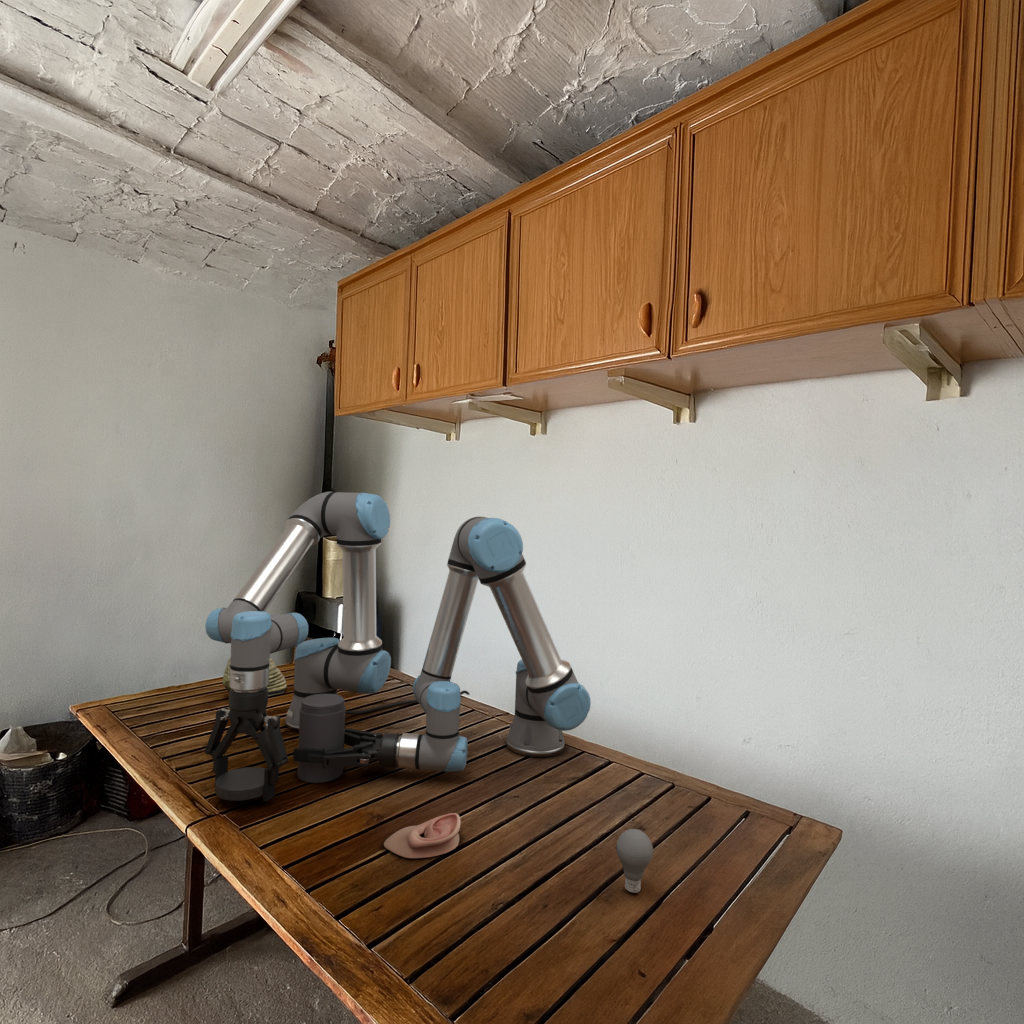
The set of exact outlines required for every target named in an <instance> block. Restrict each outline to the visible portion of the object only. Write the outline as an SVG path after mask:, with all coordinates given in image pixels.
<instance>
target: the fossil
mask: <svg viewBox="0 0 1024 1024" xmlns="http://www.w3.org/2000/svg"><path fill="white" fill-rule="evenodd" d="M230 664H231V656H230V657H229V659H228V660H227V663H226V666H225V668H224V671H223V675H222V676H223V677H222V685H223V687H224V688H225V690H226V691H228V692H229V691H230V690H231V688H230V686H229V684H230ZM287 687H288V686H287V680H286V678H285V676H284V674H283V673H282V672H281V669H279V668H278V667H277V665H276V663H275V662H274V660H273V659H272V658H271V657H270V659H269V685H268V686H267V688H268V697H271V696H275V695H281V694H284V693H285V691H286V689H287Z"/></svg>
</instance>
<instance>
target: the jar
mask: <svg viewBox="0 0 1024 1024" xmlns="http://www.w3.org/2000/svg"><path fill="white" fill-rule="evenodd" d="M345 699H346V698H345V697H344V696H342V695H340V694H337V695H336V694H316V695H311V696H308V697H305V698H304V699H303V700H302V702H301V705H302V707H301V708H300V717H299V731H298V747H297V748H304V749H324V748H325V750H326V752H327V751H333V750H340V749H345V744H344V732H345V729H346V714H345V711H346V705H345V702H346V700H345ZM296 772H297V773H296V775H297V778H298V779H299V780H300V781H302V782H305V783H311V784H318V783H319V784H321V783H327V782H332V781H334V780H337V779H338V778H340V777H341V776H342V775H343V773H344V767H342V768H326V769H323V768H322V763H311V762H297V771H296Z"/></svg>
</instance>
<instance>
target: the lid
mask: <svg viewBox="0 0 1024 1024" xmlns="http://www.w3.org/2000/svg"><path fill="white" fill-rule="evenodd" d="M264 770H265V767H259V766H258V767H257V766H248V767H240V768H235V769H232V770H228V771H227V772H226V773H224V774H222V775H221V776H219V777H218V778H217V779H216V784H215V783H214V793H215V795H216V797H218V798H219V799H221V800H224V801H230V802H231V801H232V802H233V801H234V802H237V801H239V802H241V801H248V800H252V799H257V798H259V797H262V796H263V795H264Z"/></svg>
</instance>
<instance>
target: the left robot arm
mask: <svg viewBox="0 0 1024 1024" xmlns="http://www.w3.org/2000/svg"><path fill="white" fill-rule="evenodd" d="M390 527H391V515H390V510H389V506H388V504H387V503H386V502H385V500H384V498H383V497H382V496H380V495H378V494H375V493H367V492H346V491H345V492H343V491H342V492H341V491H325V492H322V493H318V494H316V495H314V496H313V497H311V498H309V499H307V500H306V501H305V502H303V503H302V504H301V505H300V506H298V507H297V508H296V509H295V510H294V512H293V513H292V514H290V516H289V517H288V519H287V520H286V521H285V523H284V531H283V532H282V533H281V535H280V536H279V538H278V539H277V540H276V541H275V543H274V544H273V546H272V547H271V548H270V549H269V551H268V552H267V554H266V555H265V557H264V558H263V560H262V561H260V562H259V564H258V566H257V567H256V568H255V570H254V571H253V573H252V574H251V575H250V577H249V578H248V579H247V581H246V582H245V583H244V585H243V586H242V588H241V589H240V590H239V592H237V594H236V596H235V597H234V598H233V600H232V601H230V603H229V605H228V606H227V607H218V608H215V609H214V610H212V611H211V612H209V614H208V616H207V617H206V620H205V625H204V626H205V627H204V628H205V633H206V634H207V637H208V638H209V639H210V640H212V641H216V642H220V643H224V644H230V657H231V664H230V684H229V686H230V688H231V690H230V691H228V705H227V706H226V707H223V708H220V709H218V710H216V712H215V722H214V724H213V728H212V730H211V733H210V735H209V738H208V741H207V743H206V746H205V749H204V754H205V755H210V756H211V758H212V760H213V761H212V762H213V763H212V773H213V774H214V785H215V784H216V779H217V778H218V777H219V776H221V775H222V774H224V773H226V772H228V771H229V769H228V768H229V767H228V766H229V755H226V754H227V753H228V752H227V751H228V750H229V748H230V747H231V745H232V744H233V742H234V740H235V739H236V737H237V736H238V734H240V735H241V734H245V735H246V736H250V737H251V739H252V740H254V741H255V743H256V745H257V747H258V749H259V751H260V753H261V755H262V757H263V759H264V761H265V763H266V768H265V767H264V768H265V770H264V795H262V796H263V797H262V799H263V800H262V801H263V802H265V803H266V802H268V801H269V800H271V799H273V798H274V797H275V796H276V783H278V782H279V779H280V778H279V776H280V775H279V774H280V768H281V767H283V766H284V765H286V764H288V763H289V757H288V753H287V749H286V745H285V741H284V738H283V737H284V736H283V734H282V729H281V717H280V715H279V714H276V715H274V716H272V715H268V714H267V707H268V703H269V696H268V688H267V686H268V685H269V659H270V658H271V655H272V654H274V653H277V652H281V651H284V650H287V649H292V648H295V652H294V653H295V654H294V658H293V660H294V672H293V673H294V674H293V695H292V696H293V697H292V699H291V702H290V704H289V708H288V709H287V713H286V715H285V726H286V728H287V729H289V730H291V731H294V732H295V731H296V732H299V717H300V708H301V707H302V705H301V702H302V700H303V699H304V698H305V697H308V696H311V695H316V694H336V695H338V691H345V692H351V693H357V694H359V695H362V694H368V695H373V694H376V693H378V692H379V691H380V690H381V689H382V688H383V687H384V685H385V684H386V682H387V679H388V677H389V675H390V671H391V665H392V658H391V654H390V652H388V651H387V650H384V649H383V640H382V639H381V638H379V636H377V564H376V563H377V560H376V559H377V556H376V555H377V549H378V548H379V547H380V546H381V545H382V539H384V538H385V537H386V536H387V535H388V533H389V531H390V530H389V528H390ZM325 536H335V537H336V546H338V548H340V549H341V550H342V551H341V552H342V606H343V608H342V609H343V610H342V613H343V614H342V615H343V638H342V639H341V640H340V639H339V638H337V637H321V638H313V639H307V637H308V635H309V623H308V620H307V619H306V618H305V616H303V615H302V614H301V613H298V612H285V613H282V614H277V613H270V612H267V610H268V609H269V607H270V605H272V602H273V601H274V600H275V598H276V597H277V595H278V594H279V592H280V591H281V590H282V588H283V587H284V585H285V584H286V582H287V581H288V579H289V578H290V576H291V575H292V573H293V572H294V571H295V570H296V568H297V567H298V565H299V564H300V562H301V561H302V559H303V557H304V556H305V554H306V553H307V552H308V550H309V549H310V548H311V547H312V546H316V544H318V543H319V542H320V540H321V539H322V538H323V537H325ZM306 639H307V640H306ZM464 694H466V695H467V696H469V695H471V694H470V692H469V691H467V690H462V691H460V696H462V695H464ZM413 703H418V702H417V700H416V699H408V700H402V701H397V702H392V703H389V704H388V703H387V704H382V705H379V706H375V707H371V708H367V709H362V710H345V715H362V714H367V713H371V712H375V711H378V710H383V709H387V708H392V707H396V706H400V705H408V704H413ZM229 721H230V722H231V724H230V725H229V727H228V728H227V725H228V722H229ZM226 728H227V730H226ZM225 731H226V733H225ZM259 731H260V732H259ZM224 733H225V735H224ZM223 735H224V736H223Z"/></svg>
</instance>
